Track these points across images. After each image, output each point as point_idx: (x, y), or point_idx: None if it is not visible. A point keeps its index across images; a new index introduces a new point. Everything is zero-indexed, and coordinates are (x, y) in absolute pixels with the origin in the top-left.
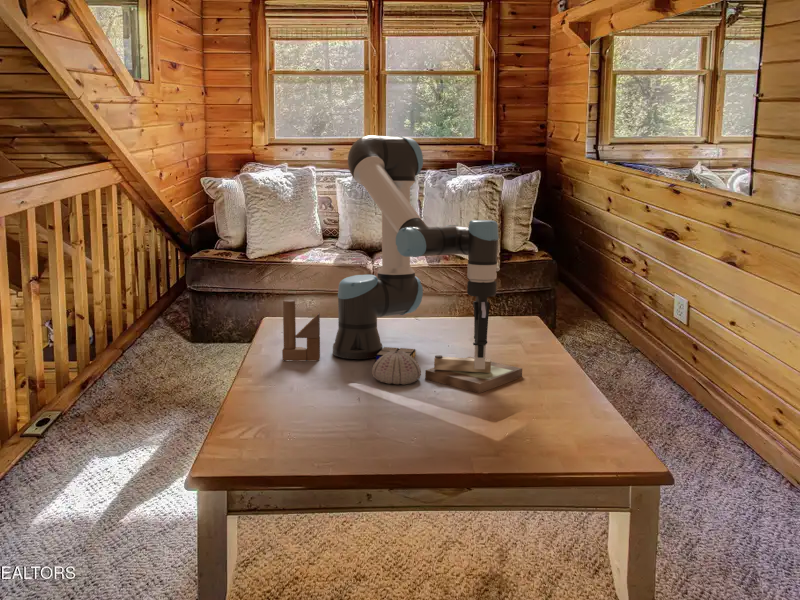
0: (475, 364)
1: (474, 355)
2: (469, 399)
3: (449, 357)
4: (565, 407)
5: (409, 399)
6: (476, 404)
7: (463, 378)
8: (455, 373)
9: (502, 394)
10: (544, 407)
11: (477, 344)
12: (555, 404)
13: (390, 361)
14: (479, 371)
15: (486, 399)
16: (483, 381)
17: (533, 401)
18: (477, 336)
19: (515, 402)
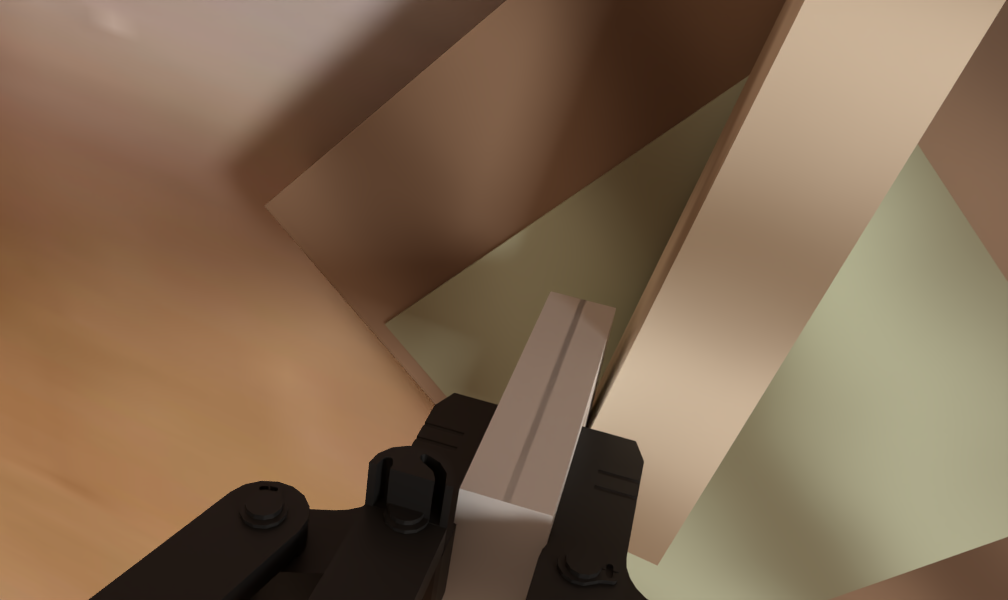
0: (535, 327)
1: (587, 395)
2: (135, 15)
3: (934, 52)
4: (47, 579)
5: None
6: (12, 37)
7: (461, 91)
8: (697, 54)
9: (283, 346)
10: (28, 478)
11: (374, 508)
12: (93, 560)
13: None
14: (619, 345)
15: (148, 171)
16: (341, 268)
17: (135, 474)
18: (148, 583)
19: (101, 356)
